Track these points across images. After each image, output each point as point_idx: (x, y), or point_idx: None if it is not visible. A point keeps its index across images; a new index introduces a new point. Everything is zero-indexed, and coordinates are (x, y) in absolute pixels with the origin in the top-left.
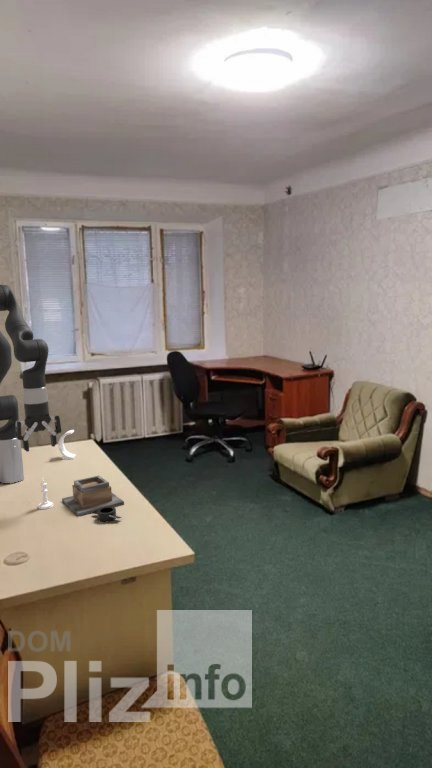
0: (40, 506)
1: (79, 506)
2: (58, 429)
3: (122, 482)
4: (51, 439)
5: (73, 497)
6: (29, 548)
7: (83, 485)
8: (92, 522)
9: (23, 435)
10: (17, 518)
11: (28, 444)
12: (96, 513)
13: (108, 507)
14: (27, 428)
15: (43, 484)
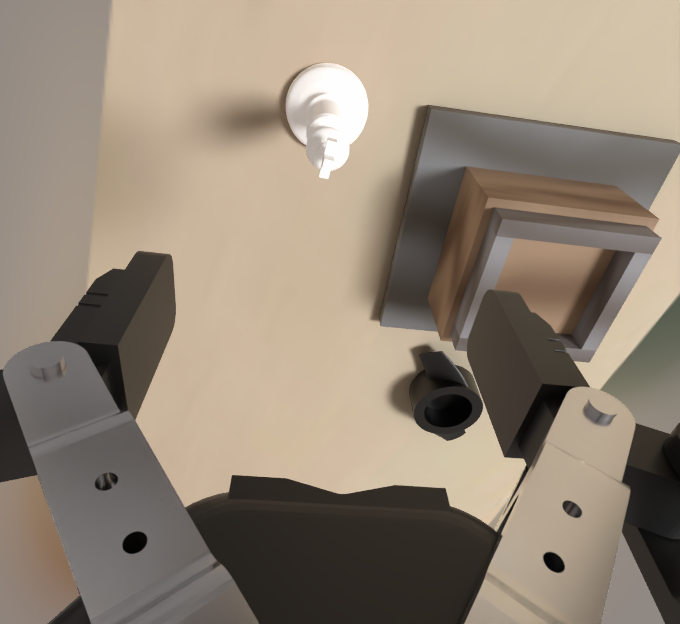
0: (291, 123)
1: (427, 270)
2: (646, 554)
3: None
4: (504, 371)
5: (467, 172)
6: (148, 412)
7: (522, 248)
8: (386, 385)
9: (24, 418)
10: (155, 156)
11: (148, 383)
12: (427, 370)
13: (469, 398)
14: (73, 531)
15: (319, 166)
